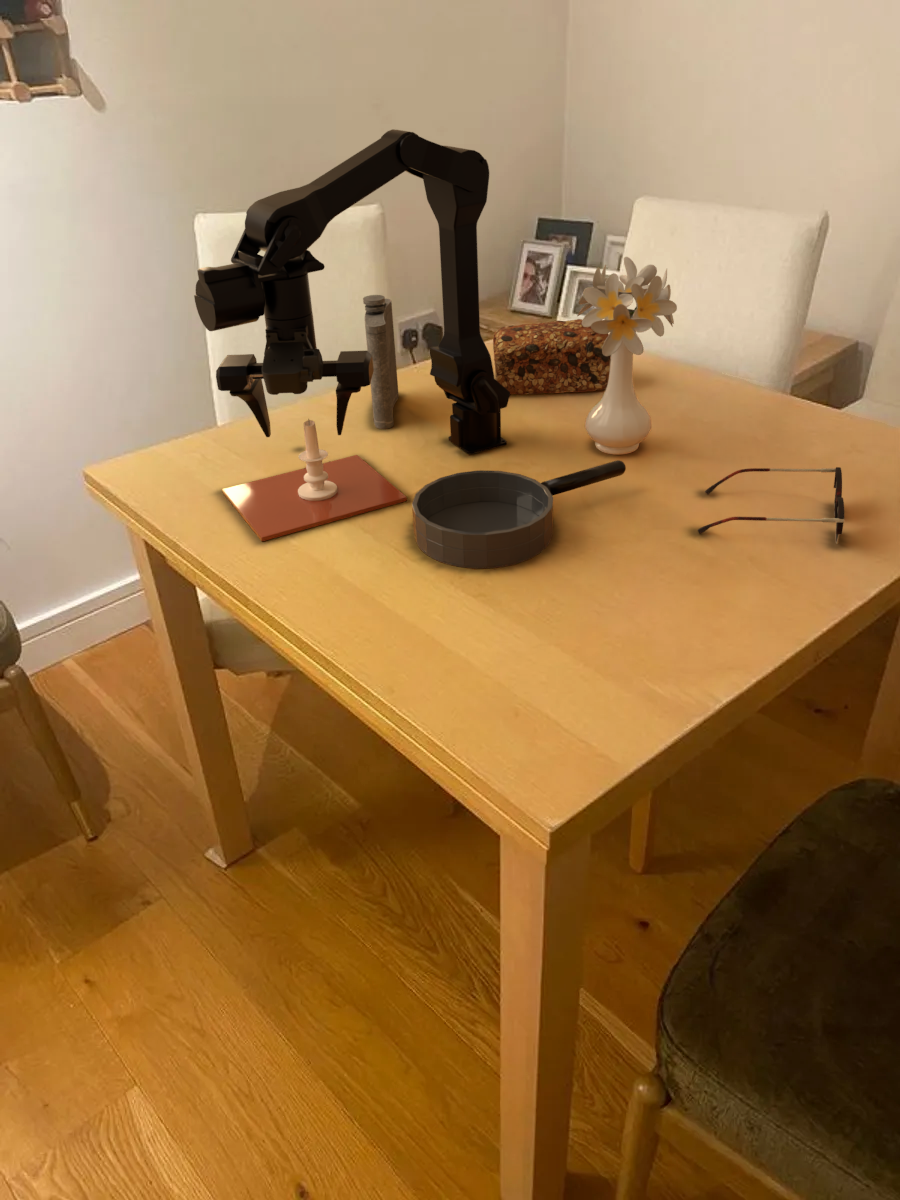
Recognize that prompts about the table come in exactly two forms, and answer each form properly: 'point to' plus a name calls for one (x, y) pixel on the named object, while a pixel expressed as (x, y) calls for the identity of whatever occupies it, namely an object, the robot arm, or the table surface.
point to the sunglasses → (837, 513)
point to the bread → (550, 358)
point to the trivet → (285, 512)
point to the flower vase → (623, 350)
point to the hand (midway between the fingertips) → (304, 435)
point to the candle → (314, 468)
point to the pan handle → (585, 477)
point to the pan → (483, 519)
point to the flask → (381, 358)
